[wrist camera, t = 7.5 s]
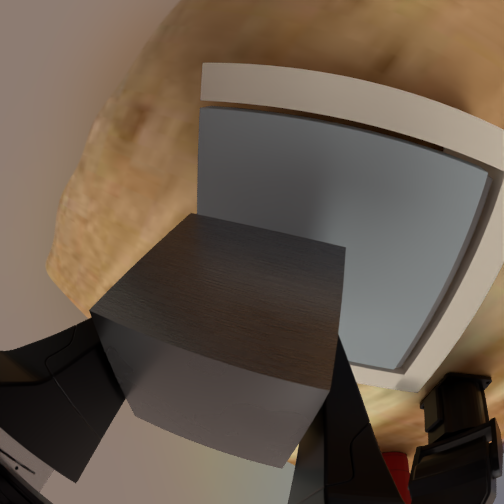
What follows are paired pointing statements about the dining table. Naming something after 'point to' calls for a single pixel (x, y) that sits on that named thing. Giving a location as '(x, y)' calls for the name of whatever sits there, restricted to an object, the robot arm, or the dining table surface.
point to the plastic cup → (399, 472)
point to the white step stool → (412, 124)
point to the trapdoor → (349, 212)
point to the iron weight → (227, 335)
